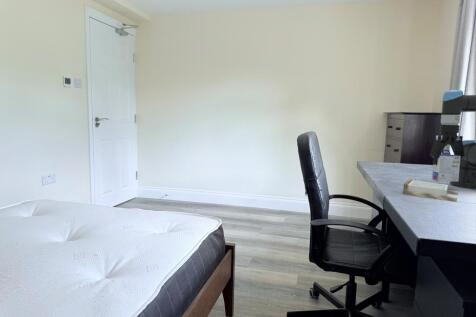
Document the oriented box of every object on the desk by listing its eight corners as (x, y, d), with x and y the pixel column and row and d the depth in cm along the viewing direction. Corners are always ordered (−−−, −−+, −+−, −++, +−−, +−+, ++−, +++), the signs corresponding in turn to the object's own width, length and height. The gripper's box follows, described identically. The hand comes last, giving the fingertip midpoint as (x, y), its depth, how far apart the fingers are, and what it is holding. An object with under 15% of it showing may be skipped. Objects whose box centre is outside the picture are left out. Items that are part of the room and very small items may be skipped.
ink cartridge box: (451, 179, 156) (454, 149, 154) (459, 181, 151) (462, 150, 149) (430, 179, 156) (433, 149, 155) (437, 181, 151) (440, 150, 149)
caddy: (447, 193, 145) (448, 184, 145) (445, 199, 134) (446, 189, 133) (411, 188, 153) (412, 180, 153) (406, 193, 142) (407, 185, 141)
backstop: (457, 194, 144) (459, 184, 143) (456, 201, 131) (458, 190, 130) (408, 188, 155) (409, 178, 155) (402, 193, 142) (403, 183, 141)
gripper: (436, 124, 144) (432, 173, 146) (477, 124, 149) (472, 172, 152) (423, 123, 151) (419, 170, 154) (462, 124, 157) (457, 169, 159)
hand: (445, 171), depth 153 cm, fingers closed on ink cartridge box, 10 cm apart
